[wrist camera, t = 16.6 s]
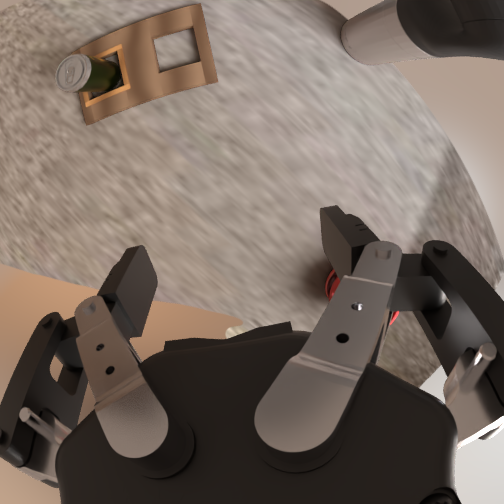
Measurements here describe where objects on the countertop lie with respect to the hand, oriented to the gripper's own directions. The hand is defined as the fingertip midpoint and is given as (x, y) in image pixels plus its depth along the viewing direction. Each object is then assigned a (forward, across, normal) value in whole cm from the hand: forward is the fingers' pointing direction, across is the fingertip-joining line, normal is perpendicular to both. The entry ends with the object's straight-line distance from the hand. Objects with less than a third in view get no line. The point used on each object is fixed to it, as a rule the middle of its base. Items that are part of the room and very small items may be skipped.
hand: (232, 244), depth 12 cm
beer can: (+33, +17, -17) cm, 41 cm away
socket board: (+33, +11, -17) cm, 39 cm away
